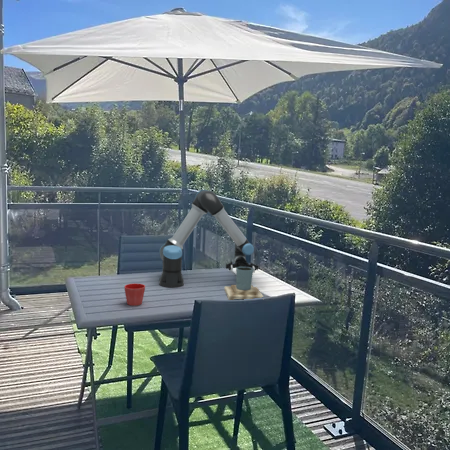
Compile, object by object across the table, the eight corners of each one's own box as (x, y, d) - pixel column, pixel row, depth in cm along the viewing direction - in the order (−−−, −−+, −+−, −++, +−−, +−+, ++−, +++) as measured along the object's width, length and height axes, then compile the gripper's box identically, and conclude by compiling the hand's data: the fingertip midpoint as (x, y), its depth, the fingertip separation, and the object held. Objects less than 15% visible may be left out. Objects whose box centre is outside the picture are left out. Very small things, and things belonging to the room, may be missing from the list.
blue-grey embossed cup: (233, 289, 261) (235, 269, 259) (236, 285, 271) (237, 265, 269) (251, 291, 259) (252, 271, 258) (253, 286, 269) (254, 267, 268)
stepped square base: (228, 299, 254) (229, 292, 254) (224, 289, 274) (224, 283, 274) (263, 300, 257) (263, 293, 257) (256, 290, 277) (256, 283, 276)
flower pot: (121, 301, 242) (122, 284, 240) (141, 299, 247) (141, 282, 246) (127, 307, 233) (127, 289, 231) (147, 305, 238) (147, 287, 236)
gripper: (259, 268, 295) (263, 277, 274) (221, 267, 294) (222, 275, 273) (260, 257, 294) (263, 265, 273) (222, 255, 293) (222, 263, 272)
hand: (243, 270), depth 273 cm, fingers open, 13 cm apart
